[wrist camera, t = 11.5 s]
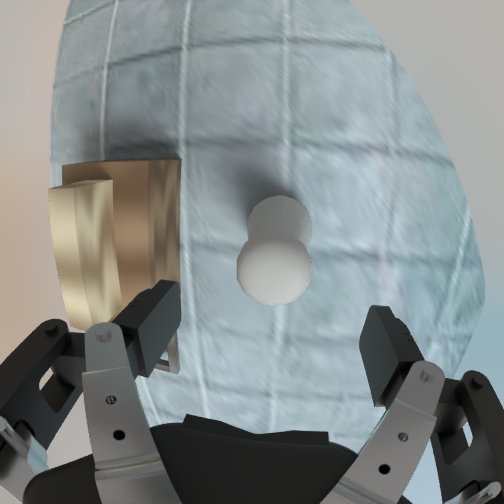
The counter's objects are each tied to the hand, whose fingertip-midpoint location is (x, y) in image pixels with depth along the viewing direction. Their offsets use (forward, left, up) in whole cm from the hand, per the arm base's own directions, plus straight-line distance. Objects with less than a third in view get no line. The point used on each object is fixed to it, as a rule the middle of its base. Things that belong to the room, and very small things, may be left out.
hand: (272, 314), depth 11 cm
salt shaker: (0, 0, -17) cm, 17 cm away
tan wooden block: (+7, -16, -15) cm, 23 cm away
